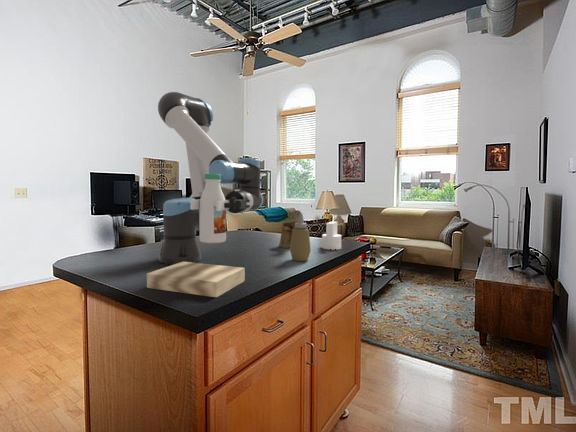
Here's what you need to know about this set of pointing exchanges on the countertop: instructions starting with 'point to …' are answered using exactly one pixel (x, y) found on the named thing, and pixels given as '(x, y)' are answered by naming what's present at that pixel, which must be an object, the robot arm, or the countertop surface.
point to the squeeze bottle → (300, 241)
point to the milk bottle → (212, 211)
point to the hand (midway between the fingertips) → (204, 205)
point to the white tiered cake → (331, 237)
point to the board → (196, 278)
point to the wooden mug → (288, 230)
